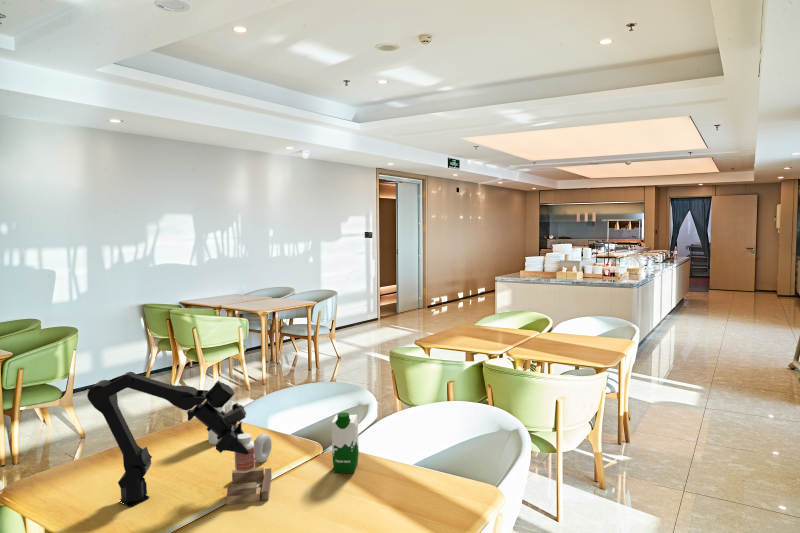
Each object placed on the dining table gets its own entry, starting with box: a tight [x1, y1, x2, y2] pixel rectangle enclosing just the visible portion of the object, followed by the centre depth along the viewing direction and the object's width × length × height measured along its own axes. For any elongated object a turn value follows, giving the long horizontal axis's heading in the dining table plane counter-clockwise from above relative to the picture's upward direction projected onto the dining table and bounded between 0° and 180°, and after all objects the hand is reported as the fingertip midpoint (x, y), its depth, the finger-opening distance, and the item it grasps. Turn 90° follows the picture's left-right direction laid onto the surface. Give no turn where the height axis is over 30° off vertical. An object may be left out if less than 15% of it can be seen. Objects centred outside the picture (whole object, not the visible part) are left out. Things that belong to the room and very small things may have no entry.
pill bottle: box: [234, 432, 256, 473], centre depth 175 cm, size 6×6×11 cm
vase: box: [207, 400, 235, 445], centre depth 217 cm, size 11×7×20 cm, turn 160°
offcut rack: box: [225, 467, 273, 505], centre depth 175 cm, size 12×16×4 cm
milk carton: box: [331, 412, 360, 474], centre depth 188 cm, size 9×9×20 cm
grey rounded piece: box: [253, 433, 273, 463], centre depth 196 cm, size 10×3×10 cm, turn 161°
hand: (248, 449), depth 175 cm, fingers closed on pill bottle, 6 cm apart
